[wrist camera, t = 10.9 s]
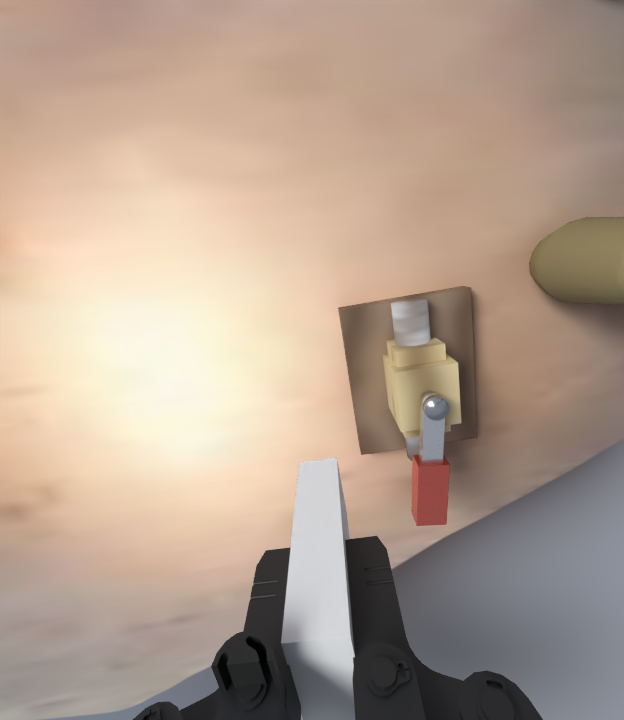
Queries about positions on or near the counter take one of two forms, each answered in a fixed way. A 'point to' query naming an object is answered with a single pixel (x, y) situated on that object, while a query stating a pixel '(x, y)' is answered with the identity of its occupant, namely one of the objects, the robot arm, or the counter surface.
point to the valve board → (370, 363)
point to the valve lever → (431, 464)
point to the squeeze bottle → (582, 261)
